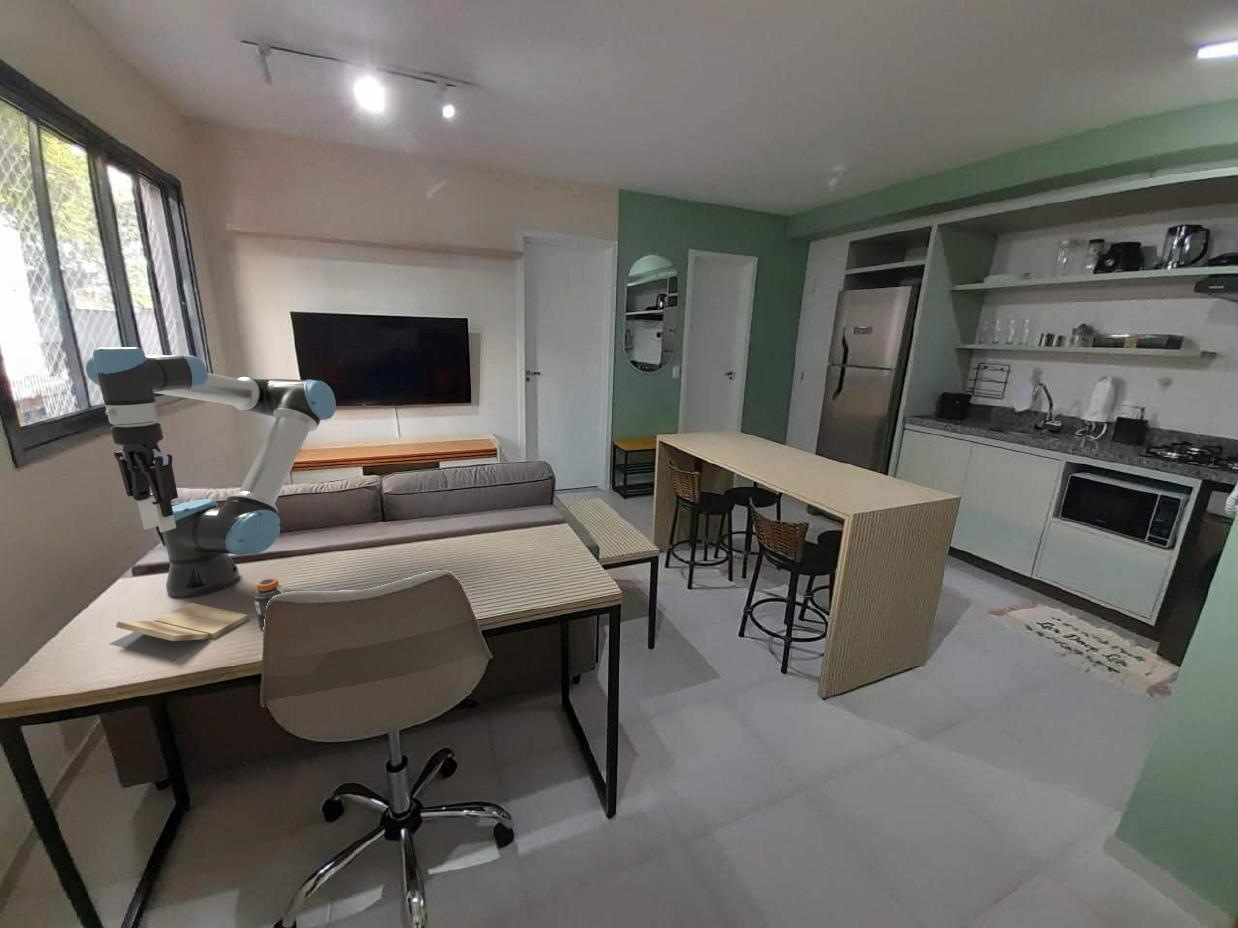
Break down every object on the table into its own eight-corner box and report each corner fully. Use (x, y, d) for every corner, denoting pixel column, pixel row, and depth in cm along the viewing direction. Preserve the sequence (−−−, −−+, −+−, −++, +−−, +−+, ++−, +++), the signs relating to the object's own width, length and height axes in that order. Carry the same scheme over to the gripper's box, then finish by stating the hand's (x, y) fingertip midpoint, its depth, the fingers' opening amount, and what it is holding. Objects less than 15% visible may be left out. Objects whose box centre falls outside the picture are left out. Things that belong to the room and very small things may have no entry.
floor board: (192, 607, 122) (191, 602, 121) (248, 619, 117) (247, 614, 117) (155, 624, 114) (154, 620, 114) (213, 638, 110) (212, 633, 109)
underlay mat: (193, 605, 123) (193, 604, 123) (253, 618, 118) (253, 617, 118) (109, 644, 107) (109, 643, 107) (175, 661, 102) (174, 660, 102)
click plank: (154, 625, 114) (156, 620, 114) (209, 638, 109) (211, 633, 109) (115, 626, 106) (117, 621, 107) (172, 640, 102) (174, 635, 102)
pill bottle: (295, 617, 119) (288, 575, 116) (280, 631, 113) (272, 587, 110) (270, 617, 118) (262, 575, 116) (253, 632, 113) (245, 587, 110)
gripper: (83, 423, 100) (111, 530, 106) (143, 429, 96) (169, 540, 102) (127, 418, 107) (151, 518, 113) (185, 423, 103) (207, 527, 109)
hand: (160, 528), depth 108 cm, fingers open, 4 cm apart
